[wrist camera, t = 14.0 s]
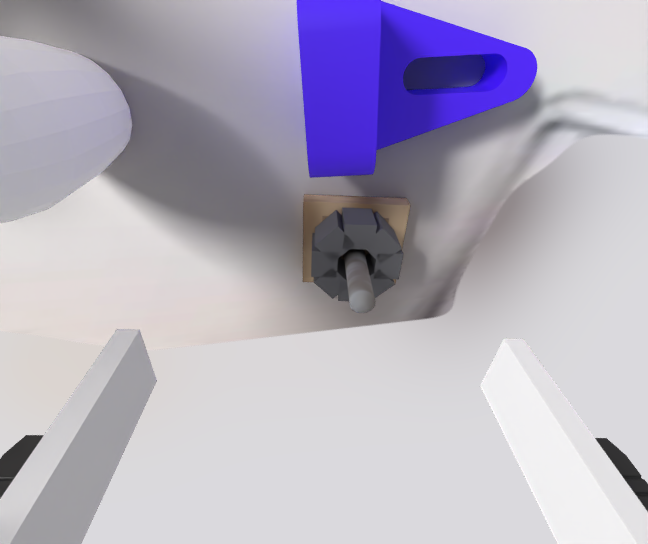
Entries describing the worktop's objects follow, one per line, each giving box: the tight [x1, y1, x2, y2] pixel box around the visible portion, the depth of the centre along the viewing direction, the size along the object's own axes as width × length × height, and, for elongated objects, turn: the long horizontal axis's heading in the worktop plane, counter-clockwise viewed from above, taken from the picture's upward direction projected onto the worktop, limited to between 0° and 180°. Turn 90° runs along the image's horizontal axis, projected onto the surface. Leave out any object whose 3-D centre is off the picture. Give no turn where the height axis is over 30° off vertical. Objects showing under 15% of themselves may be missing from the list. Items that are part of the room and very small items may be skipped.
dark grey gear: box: [311, 207, 403, 301], centre depth 35 cm, size 9×9×4 cm
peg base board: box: [303, 195, 410, 313], centre depth 34 cm, size 11×10×12 cm
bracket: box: [297, 0, 537, 178], centre depth 25 cm, size 18×11×12 cm, turn 93°
